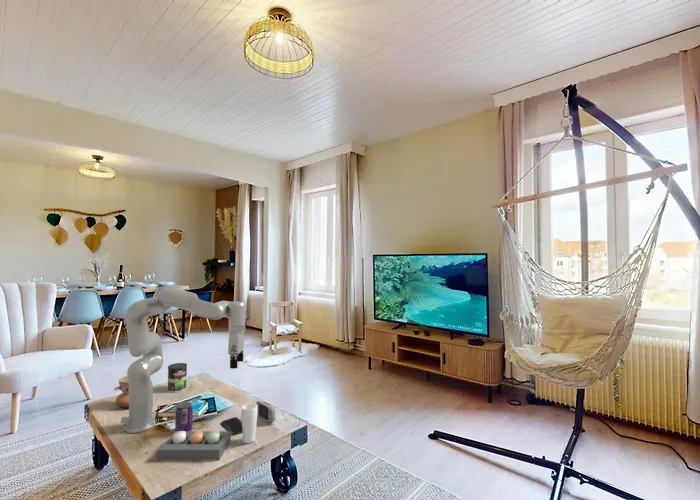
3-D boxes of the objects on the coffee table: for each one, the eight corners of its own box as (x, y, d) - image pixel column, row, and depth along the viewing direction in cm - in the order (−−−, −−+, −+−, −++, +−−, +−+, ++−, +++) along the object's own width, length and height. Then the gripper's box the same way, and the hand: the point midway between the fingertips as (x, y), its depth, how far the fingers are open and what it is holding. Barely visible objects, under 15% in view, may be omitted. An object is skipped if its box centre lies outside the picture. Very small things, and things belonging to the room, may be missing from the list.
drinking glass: (238, 440, 150) (238, 406, 150) (252, 434, 154) (252, 401, 155) (245, 446, 145) (246, 411, 145) (259, 440, 150) (260, 406, 150)
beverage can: (195, 428, 159) (196, 402, 159) (184, 436, 152) (185, 409, 153) (183, 426, 161) (183, 400, 161) (171, 433, 154) (172, 407, 154)
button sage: (205, 446, 140) (205, 437, 140) (209, 439, 145) (209, 430, 145) (217, 446, 140) (217, 437, 140) (221, 439, 145) (221, 430, 145)
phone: (236, 416, 170) (249, 428, 158) (236, 419, 170) (249, 430, 158) (220, 421, 164) (233, 434, 153) (220, 424, 164) (233, 436, 153)
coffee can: (188, 389, 204) (189, 365, 204) (170, 394, 197) (170, 369, 197) (183, 384, 211) (184, 361, 212) (165, 388, 205) (165, 365, 205)
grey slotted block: (158, 459, 135) (158, 449, 135) (175, 440, 149) (175, 431, 149) (219, 459, 135) (219, 449, 135) (230, 440, 149) (230, 431, 149)
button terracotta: (187, 446, 140) (188, 437, 140) (193, 439, 144) (193, 430, 145) (199, 446, 140) (199, 437, 140) (204, 439, 145) (204, 430, 145)
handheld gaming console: (254, 415, 172) (254, 400, 172) (259, 413, 175) (259, 398, 175) (271, 425, 163) (272, 408, 163) (276, 423, 165) (277, 406, 165)
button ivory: (170, 446, 140) (170, 436, 140) (176, 439, 144) (176, 430, 144) (182, 446, 140) (182, 437, 140) (187, 439, 144) (188, 430, 144)
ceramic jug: (118, 414, 172) (119, 385, 172) (108, 405, 181) (109, 378, 181) (156, 402, 186) (157, 376, 187) (144, 395, 195) (146, 370, 196)
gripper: (234, 324, 169) (234, 359, 169) (222, 332, 151) (222, 371, 151) (249, 324, 169) (249, 358, 169) (239, 332, 152) (239, 371, 152)
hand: (236, 364), depth 160 cm, fingers open, 9 cm apart
